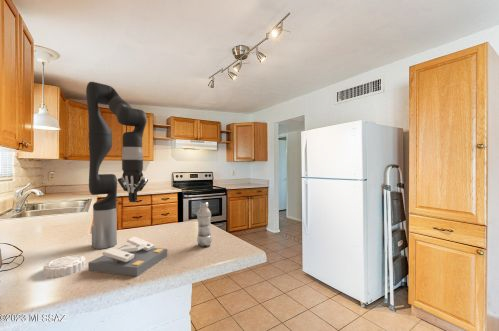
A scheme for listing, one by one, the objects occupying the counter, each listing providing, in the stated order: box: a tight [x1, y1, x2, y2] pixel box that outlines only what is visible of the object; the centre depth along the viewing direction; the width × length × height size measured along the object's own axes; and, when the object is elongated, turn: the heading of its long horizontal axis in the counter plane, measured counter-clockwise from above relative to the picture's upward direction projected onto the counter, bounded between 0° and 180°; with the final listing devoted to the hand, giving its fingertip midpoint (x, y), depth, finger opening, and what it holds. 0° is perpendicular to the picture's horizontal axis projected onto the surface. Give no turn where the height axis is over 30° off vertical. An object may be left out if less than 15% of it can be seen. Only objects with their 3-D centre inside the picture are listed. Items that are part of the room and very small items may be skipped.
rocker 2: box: [126, 235, 155, 251], centre depth 97 cm, size 10×4×1 cm, turn 77°
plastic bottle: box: [196, 201, 213, 247], centre depth 110 cm, size 6×7×20 cm
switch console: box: [87, 244, 168, 277], centre depth 91 cm, size 20×18×4 cm
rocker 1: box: [102, 247, 135, 262], centre depth 86 cm, size 10×4×1 cm, turn 77°
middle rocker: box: [117, 244, 145, 252], centre depth 91 cm, size 10×4×1 cm, turn 77°
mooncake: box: [43, 255, 87, 279], centre depth 86 cm, size 12×12×4 cm
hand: (132, 201), depth 95 cm, fingers closed
